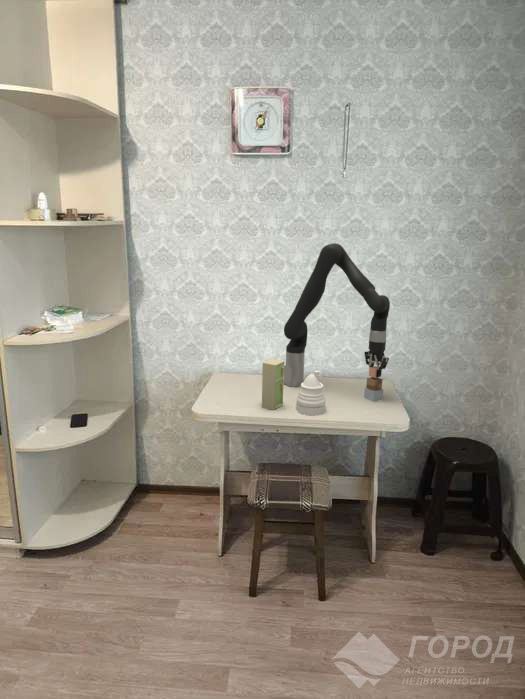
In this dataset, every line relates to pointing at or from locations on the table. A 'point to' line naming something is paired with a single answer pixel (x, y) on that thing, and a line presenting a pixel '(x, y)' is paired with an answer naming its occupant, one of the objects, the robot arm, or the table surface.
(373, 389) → the walnut block
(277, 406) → the toy refrigerator
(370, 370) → the terracotta block
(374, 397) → the slate block
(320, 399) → the honey pot
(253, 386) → the table surface
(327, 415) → the table surface
